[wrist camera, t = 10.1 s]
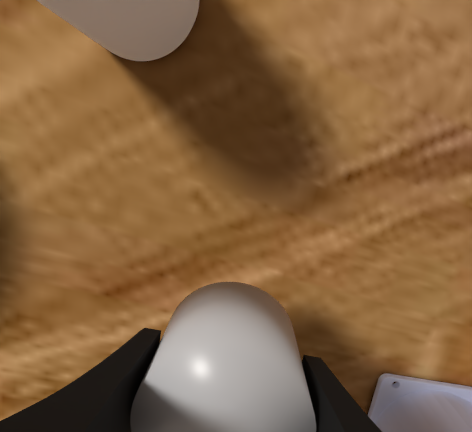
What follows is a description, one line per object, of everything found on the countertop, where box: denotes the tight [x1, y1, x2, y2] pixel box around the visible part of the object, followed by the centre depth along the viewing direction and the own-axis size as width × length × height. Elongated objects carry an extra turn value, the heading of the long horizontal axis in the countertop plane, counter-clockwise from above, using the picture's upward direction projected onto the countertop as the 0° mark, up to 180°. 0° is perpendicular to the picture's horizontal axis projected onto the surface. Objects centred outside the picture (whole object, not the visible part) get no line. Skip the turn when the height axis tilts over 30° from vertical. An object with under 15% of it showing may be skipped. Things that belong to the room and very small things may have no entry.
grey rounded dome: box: [130, 282, 316, 432], centre depth 10 cm, size 5×5×4 cm
